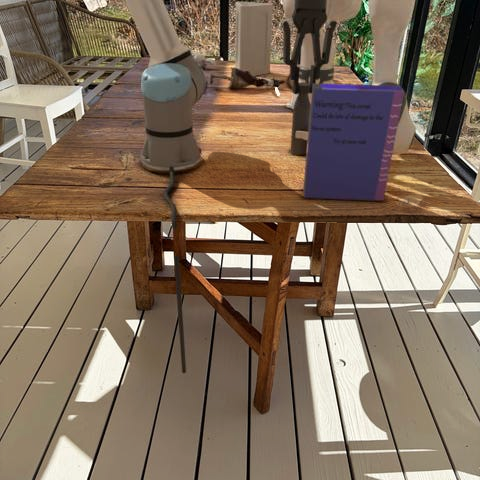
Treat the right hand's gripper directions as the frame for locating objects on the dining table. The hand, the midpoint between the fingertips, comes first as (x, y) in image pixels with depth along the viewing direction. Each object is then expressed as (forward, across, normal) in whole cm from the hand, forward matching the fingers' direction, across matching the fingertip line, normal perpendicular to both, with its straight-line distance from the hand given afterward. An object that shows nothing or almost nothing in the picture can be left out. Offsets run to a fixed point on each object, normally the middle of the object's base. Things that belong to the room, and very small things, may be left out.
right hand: (297, 130), depth 128 cm
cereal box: (-14, +25, +6) cm, 29 cm away
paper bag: (+31, -96, +6) cm, 101 cm away
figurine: (+27, -67, +6) cm, 73 cm away
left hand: (-1, 0, -10) cm, 10 cm away
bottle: (-1, 0, +6) cm, 6 cm away
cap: (-1, 0, -12) cm, 12 cm away
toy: (+64, -99, +6) cm, 118 cm away
